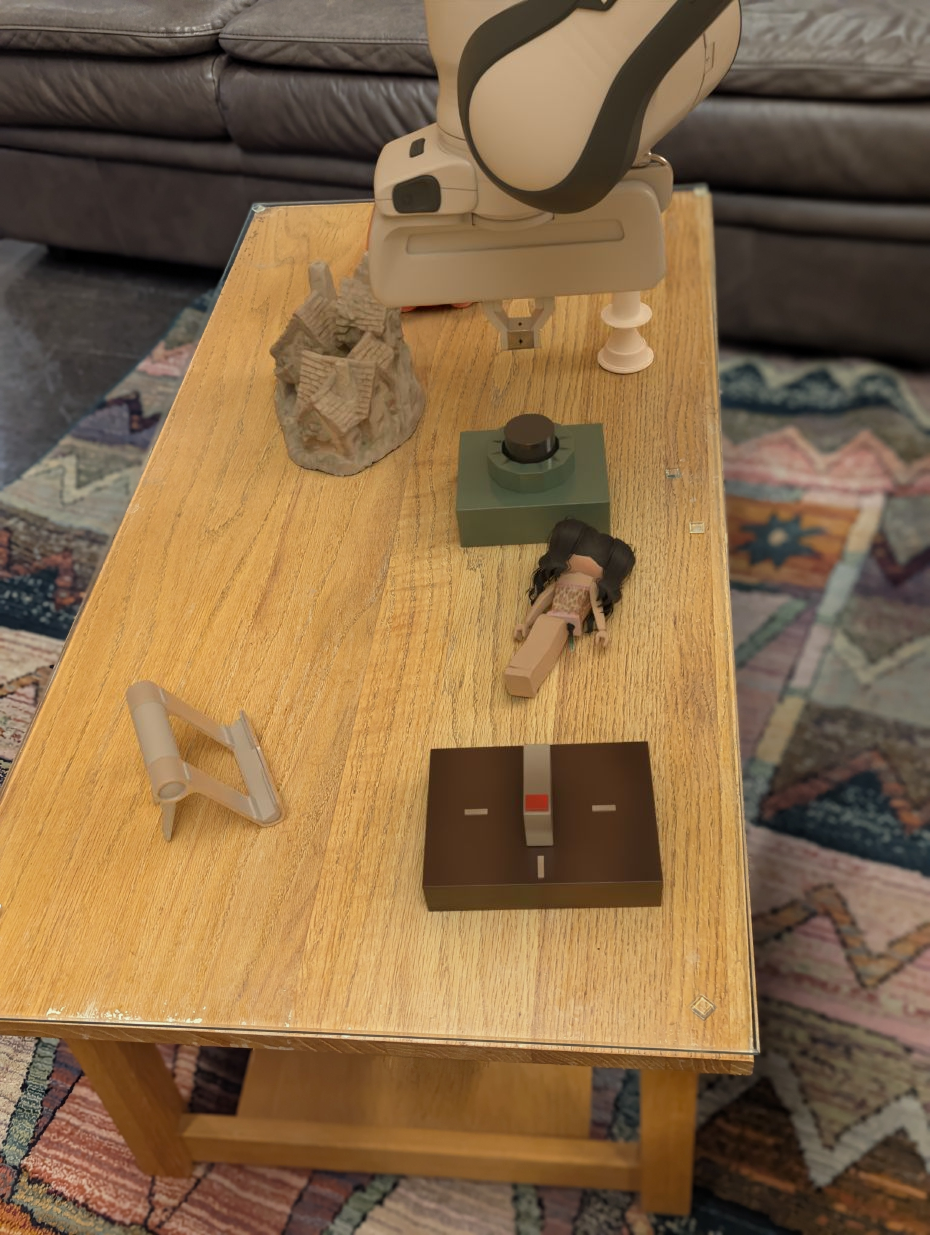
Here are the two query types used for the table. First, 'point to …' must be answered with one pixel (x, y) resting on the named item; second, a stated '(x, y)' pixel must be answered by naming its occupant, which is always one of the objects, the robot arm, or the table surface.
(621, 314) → the candle
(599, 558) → the toy figure
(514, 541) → the green push button box
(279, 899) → the table surface
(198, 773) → the tablet stand
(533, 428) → the knob
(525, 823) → the dial
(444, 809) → the dial panel
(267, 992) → the table surface
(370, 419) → the ceramic cottage
